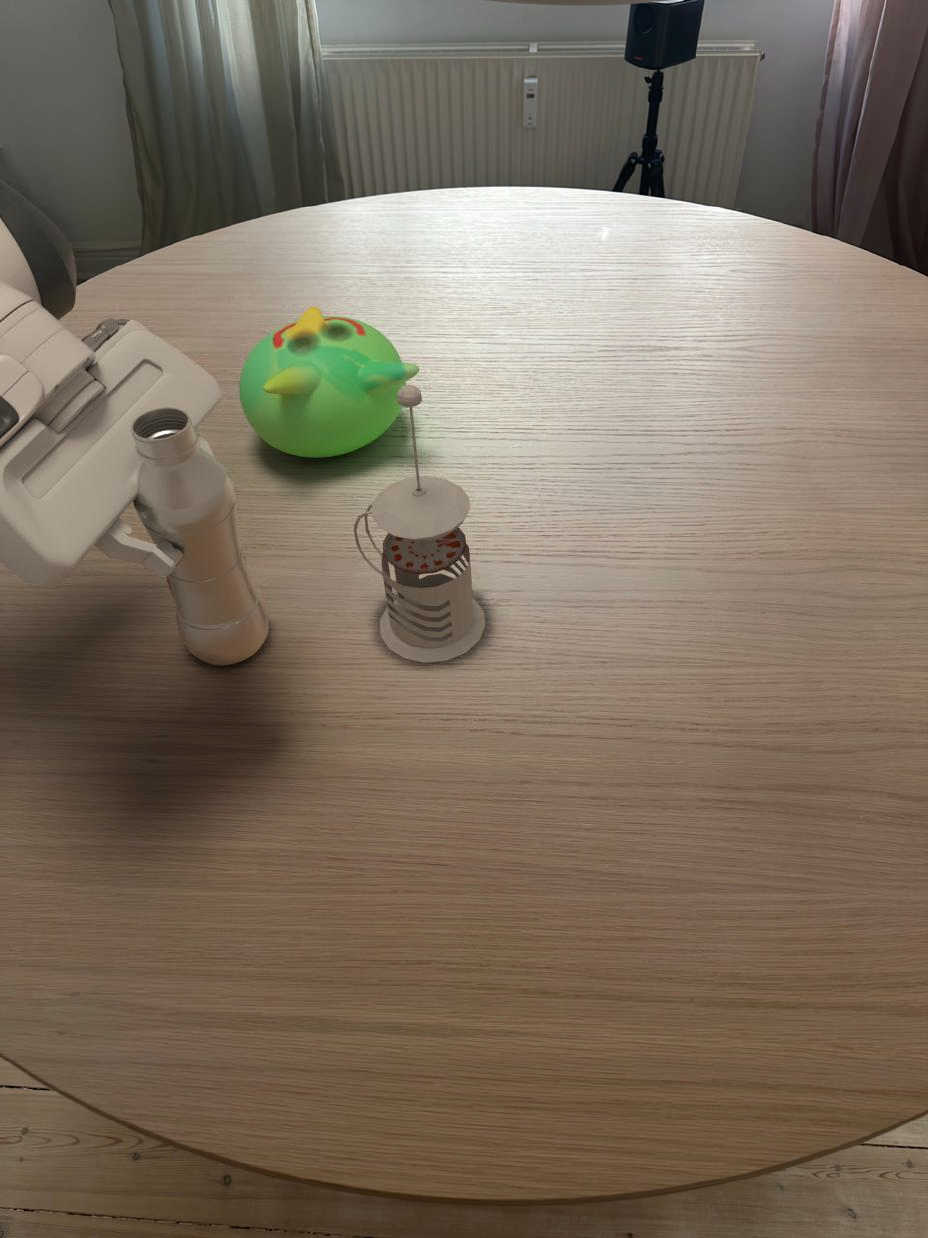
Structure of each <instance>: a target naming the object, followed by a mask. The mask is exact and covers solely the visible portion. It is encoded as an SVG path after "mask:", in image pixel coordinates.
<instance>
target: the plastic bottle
mask: <svg viewBox="0 0 928 1238" xmlns="http://www.w3.org/2000/svg"><path fill="white" fill-rule="evenodd" d="M196 432H197V431H196V430H194V427H193V424H192V421H191V418H190V416H189V415H188V413H186V412H185V411H183V410H181V409H178V408H171V407H164V408H157V409H153V410H150V411H147V412H145V413H143V414H141V415H140V416H138V417H137V418H136V419H135V420H134V421H133V423H132V425H131V433H132V436H133V439H134V441H135V444H136V445H135V448H136V452H137V455H138V457H139V458H140V459H141V460H142V461H143V462H142V464H141V466H140V468H139V471H138V475H137V487H138V495H137V497H136V498H135V500H134V501H133V502H132V503H133V507H134V509H135V511H136V513H137V516H138V518H139V520H140V521H141V523H142V525H143V526H144V528H145V530H146V532H147V534H148V535H149V537H150V539H151V541H152V543H153V544H156V545H157V544H158V543H159V542H160V541H161V540H162V539H163V538H165V539H166V540H168V541H169V542H170V543H171V544H172V545H173V548H177V549H179V550H180V551H181V552H182V554H183V558H182V560H181V561H180V562H179V564H178V565H177V566H176V568H175V569H174V570H173V571H172V573H170V574H169V575H168V576H169V579H170V583H171V588H172V592H173V596H174V599H173V601H174V600H175V602H174V604H175V607H174V608H175V620H176V626H177V631H178V635H179V637H180V639H181V640H182V642H183V643H184V645H185V647H186V648H187V650H188V652H190V653H191V654H192V655H193V656H194V657H195V658H197V659H198V658H199V659H198V660H200V659H201V660H204V661H206V662H209V663H212V664H218V665H227V664H233V665H235V664H234V663H236V664H238V663H237V662H239V663H241V662H240V661H242V662H244V661H246V660H247V659H249V658H251V657H252V656H254V654H256V653H257V652H258V650H260V648H261V647H262V645H263V644H264V643H265V641H266V640H267V637H268V634H269V612H268V608H267V605H266V603H265V601H264V598H263V596H262V594H261V592H260V591H259V589H258V587H257V586H256V585H255V582H254V580H253V577H252V575H251V572H250V570H249V567H248V564H247V561H246V562H245V560H246V558H245V559H244V557H245V554H244V550H243V546H242V540H241V536H240V530H239V526H238V523H239V522H238V513H237V500H236V490H234V484H235V483H234V481H233V477H232V476H231V475H230V473H229V472H228V470H227V469H226V468H225V466H224V465H223V464H222V463H221V462H220V461H219V460H218V459H217V458H216V457H215V456H214V457H215V458H214V457H212V456H211V455H210V454H208V453H207V452H206V451H204V450H202V449H200V448H199V446H200V441H199V438H198V435H197V433H198V432H197V433H196ZM233 483H234V484H233ZM250 656H251V657H250ZM245 659H246V660H245ZM201 660H200V661H201ZM243 660H244V661H243ZM227 666H228V665H227Z"/></svg>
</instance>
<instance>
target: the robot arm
mask: <svg viewBox="0 0 928 1238" xmlns="http://www.w3.org/2000/svg"><path fill="white" fill-rule="evenodd" d="M76 299H77V266H76V259H75V253H74V250H73V247H72V245H71V243H70V242H69V240H68V239H67V237H66V236H65V234H64V233H63V232H62V230H60V228H59V227H58V226H57V225H56V224H55V223H54V221H52V220H51V218H50V217H48V216H47V214H46V213H44V212H43V211H42V210H41V209H39V208H38V207H37V206H36V205H35V204H34V203H32V202H31V201H30V200H29V199H28V198H26V197H25V196H24V195H22V194H21V193H20V192H19V191H18V190H16V189H15V188H14V187H12V186H10V185H9V184H8V183H7V182H5V181H4V180H3V179H2V178H0V563H1V564H2V565H4V566H5V567H6V568H7V569H8V570H10V571H11V572H12V573H13V574H14V575H16V576H17V577H19V578H20V579H21V580H22V581H24V582H25V583H26V584H29V585H31V586H32V587H40V588H48V589H54V588H57V587H58V586H59V585H60V584H62V582H64V581H65V580H66V578H67V577H68V576H69V575H70V573H71V572H72V571H74V569H75V568H76V566H78V565H79V563H80V562H81V561H82V560H83V559H84V558H85V557H86V555H87V554H88V553H89V552H90V551H91V550H92V549H93V548H94V547H95V548H96V549H98V550H99V551H100V552H101V553H103V554H104V555H105V556H106V557H108V558H110V559H115V560H119V561H125V562H130V563H134V564H142V565H143V566H144V567H146V568H147V569H148V570H149V571H150V572H152V573H153V574H154V575H156V576H157V577H159V578H161V579H166V577H167V576H168V575H169V574H170V573H172V571H173V570H174V569H175V568H176V566H177V565H178V564H179V562H180V561H181V560H182V558H183V554H182V552H181V551H180V550H179V549H177V548H173V545H172V544H171V543H170V542H169V541H168V540H166V539H165V538H163V539H162V540H161V541H160V542H159V543H158V544H157V545H156V544H154V542H150V541H146V540H143V539H139V538H136V537H133V536H130V535H131V533H133V528H132V527H131V526H130V525H128V524H127V523H126V522H125V521H124V520H122V519H121V518H120V517H121V516H122V515H123V514H124V512H125V511H126V510H127V509H128V508H129V507H130V506H131V504H132V503H133V501H134V500H135V498H136V497H137V495H138V487H137V475H138V471H139V468H140V466H141V464H142V462H143V461H142V460H141V459H140V458H139V457H138V455H137V452H136V448H135V445H136V444H135V441H134V439H133V436H132V433H131V425H132V423H133V421H134V420H135V419H136V418H137V417H138V416H140V415H141V414H143V413H145V412H147V411H150V410H153V409H157V408H164V407H171V408H178V409H181V410H183V411H185V412H186V413H188V415H189V416H190V418H191V421H192V424H193V427H194V430H195V431H196V430H197V429H198V428H199V427H200V426H201V425H202V423H204V421H206V419H207V418H208V417H209V416H210V415H211V413H212V412H213V411H214V410H215V409H216V408H217V406H219V405H220V403H221V402H222V401H223V399H224V396H223V393H222V390H221V387H220V385H219V382H218V380H216V379H215V377H214V376H212V375H211V374H210V373H209V372H208V371H206V370H205V368H203V367H202V366H200V365H199V364H198V363H197V362H195V361H194V360H193V359H191V358H190V357H189V356H188V355H186V354H185V353H184V352H182V351H181V350H180V349H178V348H176V347H175V346H174V345H173V344H170V343H169V342H168V341H166V340H165V339H163V338H161V337H160V336H158V335H156V334H155V333H152V332H151V331H150V330H149V329H147V328H146V327H145V326H144V325H143V324H142V323H140V322H139V321H137V320H135V319H126V318H117V319H115V318H113V317H108V318H106V319H104V320H102V321H101V322H100V323H99V324H98V325H97V326H96V327H95V330H94V331H92V332H91V333H88V335H86V336H84V337H83V338H82V339H80V338H79V337H78V336H76V335H75V334H74V333H73V332H72V331H71V330H69V328H68V327H67V326H65V325H64V324H63V323H62V322H61V321H60V320H61V319H62V318H64V317H65V316H66V315H67V314H69V313H70V312H71V311H73V309H74V307H75V304H76ZM120 326H122V327H121V328H120ZM196 433H197V435H198V438H199V441H200V446H199V448H200V449H202V450H204V451H206V452H207V453H208V454H210V455H211V456H212V457H214V458H215V459H216V457H215V455H214V453H213V450H212V448H211V445H210V444H209V442H208V441H207V440H206V439H204V437H202V435H200V434H199V433H198V432H197V431H196ZM233 484H234V490H235V491H237V485H236V484H235V482H233Z"/></svg>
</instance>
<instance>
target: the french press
mask: <svg viewBox="0 0 928 1238" xmlns="http://www.w3.org/2000/svg"><path fill="white" fill-rule="evenodd" d="M397 398H398V404H399V405H401V406H402V407H404V408H409V416H410V426H411V436H412V447H413V456H414V465H415V466H414V468H415V477H408V478H403V479H401V480H398V481H395V482H393V483H391V484H389V485H387V486H386V487H384V489H382V490H381V491H379V492H378V494H377V496H376V497H375V499H374V501H372V502H371V503H370V504H369V505H368V506H367V508H366V510H365V511H363V512H362V513H361V514H360V515H358V516H357V518H356V519H355V522H354V525H353V535H354V538H355V544H356V546H357V548H358V550H359V553H360V555H361V557H362V558H363V560H364V561H365V562H366V563H367V564H368V565H369V566H370V568H371V569H372V570H374V571H375V572H377V573H378V574H379V575H380V576H382V580H383V585H384V592H385V593H384V594H385V599H386V608H385V610H384V612H383V614H382V616H381V618H380V620H379V635H380V637H381V639H382V640H383V642H384V644H385V645H386V647H387V648H388V650H390V651H392V652H393V653H395V654H396V655H398V656H400V657H401V658H403V659H404V660H409V661H414V662H419V663H424V664H427V663H436V662H439V663H440V662H448V661H450V660H452V659H454V658H457V657H460V656H462V655H464V654H466V653H467V652H468V651H470V650H471V649H472V648H473V647H474V646H475V645H476V644H478V643H479V641H480V640H481V638H482V635H483V633H484V630H485V628H486V619H485V612H484V610H483V608H482V607H481V605H480V604H479V603H478V602H477V600H476V599H475V598H474V597H473V580H472V565H471V564H472V563H471V553H470V546H469V545H468V544H467V540H466V539H467V538H466V535H465V533H464V531H462V530H461V528H460V527H461V525H463V524H464V522H465V520H466V518H467V516H468V514H469V512H470V510H471V503H470V496H469V495H468V494H467V493H466V492H465V490H464V489H463V488H462V487H461V486H460V485H458V484H456V483H455V482H453V481H450V480H448V479H446V478H439V477H435V476H434V477H433V476H427V475H425V476H423V475H422V476H420V471H419V462H418V452H417V451H418V449H417V442H416V431H415V421H414V411H413V408H414V407H418V405H420V404H421V403H422V402H423V396H422V391H421V389H420V388H418V387H417V386H416V385H413V384H406V386H403V387H401V388H400V389H399V390H398V393H397ZM369 515H371V518H372V519H373V520H374V522H375V523H376V525H377V526H378V528H379V529H381V530H383V531H384V532H386V533H387V534H386V536H385V538H384V539H383V541H382V551H381V549H379V547H378V546H377V545H376V543H375V541H374V539H373V537H372V535H371V532H370V530H369V521H368V516H369ZM362 518H364V526H365V533H366V534H367V536H368V539H369V540H370V542H371V544H372V546H373V548H374V550H376V552H377V553H378V554H379V555H380V556H381V565H380V566H381V570H380V569H379V568H378V567H377V566H375V564H373V563H372V561H371V560H369V558H368V557H367V556H366V555H365V553H364V551H363V550H362V546H361V544H360V540H359V536H358V531H357V530H358V525H359V523H360V521H361V519H362ZM462 557H463V558H464V559H463V558H462ZM458 561H459V562H460V563H461V564H462V566H463V567H464V568H462V566H461V565H460V564H459V563H458ZM465 561H466V562H465ZM466 563H467V564H466ZM390 565H391V566H393V568H394V575H395V580H394V579H392V578H391V572H390ZM452 566H454V567H455V568H456V569H457V570H458V571H459V572H460V574H459V573H458V572H457V571H456V569H455V568H453V567H452ZM441 571H446V572H449V573H451V574H453V575H454V576H455V577H452V576H450V575H447V574H444V573H439V572H441ZM420 575H425V576H423V577H421V578H420ZM393 590H394V591H396V592H397V595H396V594H395V593H394V592H393Z"/></svg>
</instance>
